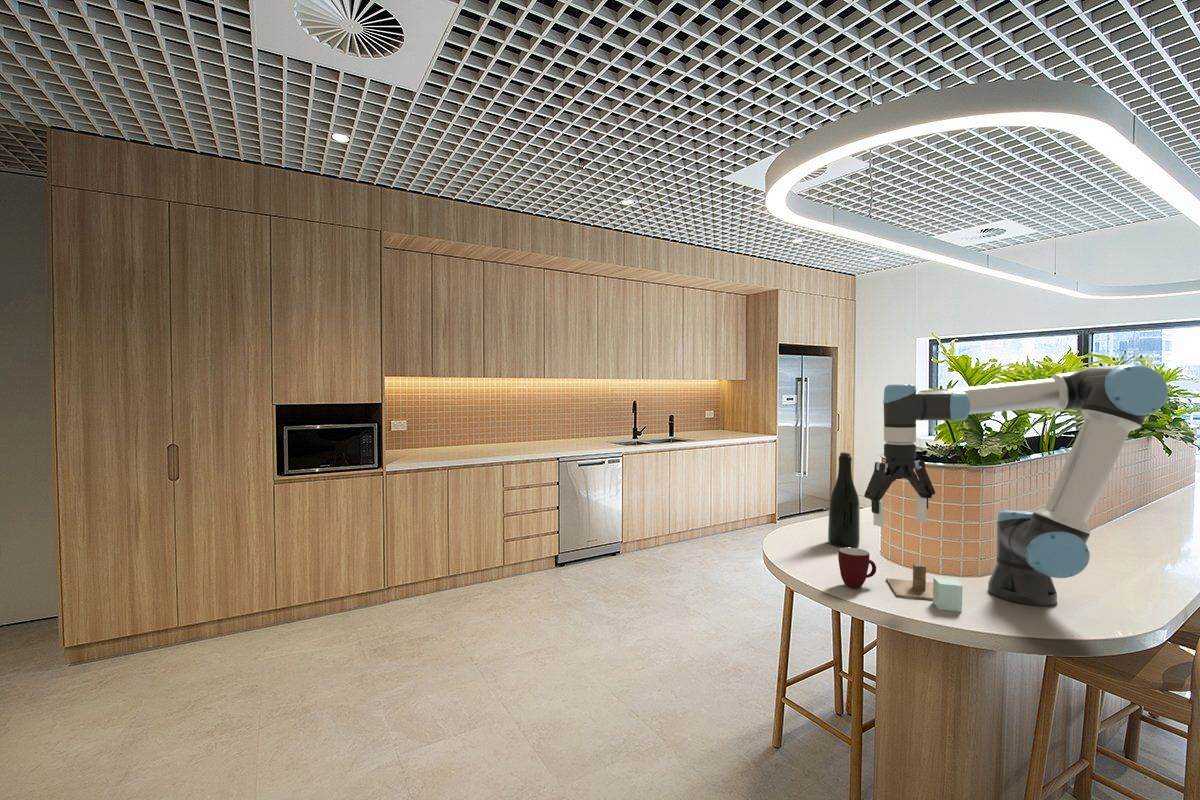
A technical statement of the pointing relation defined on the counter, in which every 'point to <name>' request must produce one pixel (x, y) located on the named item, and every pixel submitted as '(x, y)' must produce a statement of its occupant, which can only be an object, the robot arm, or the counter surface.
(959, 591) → the pale green block
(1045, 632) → the counter surface
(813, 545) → the counter surface
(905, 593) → the brown square plate
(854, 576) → the mug
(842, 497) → the dark green wine bottle
